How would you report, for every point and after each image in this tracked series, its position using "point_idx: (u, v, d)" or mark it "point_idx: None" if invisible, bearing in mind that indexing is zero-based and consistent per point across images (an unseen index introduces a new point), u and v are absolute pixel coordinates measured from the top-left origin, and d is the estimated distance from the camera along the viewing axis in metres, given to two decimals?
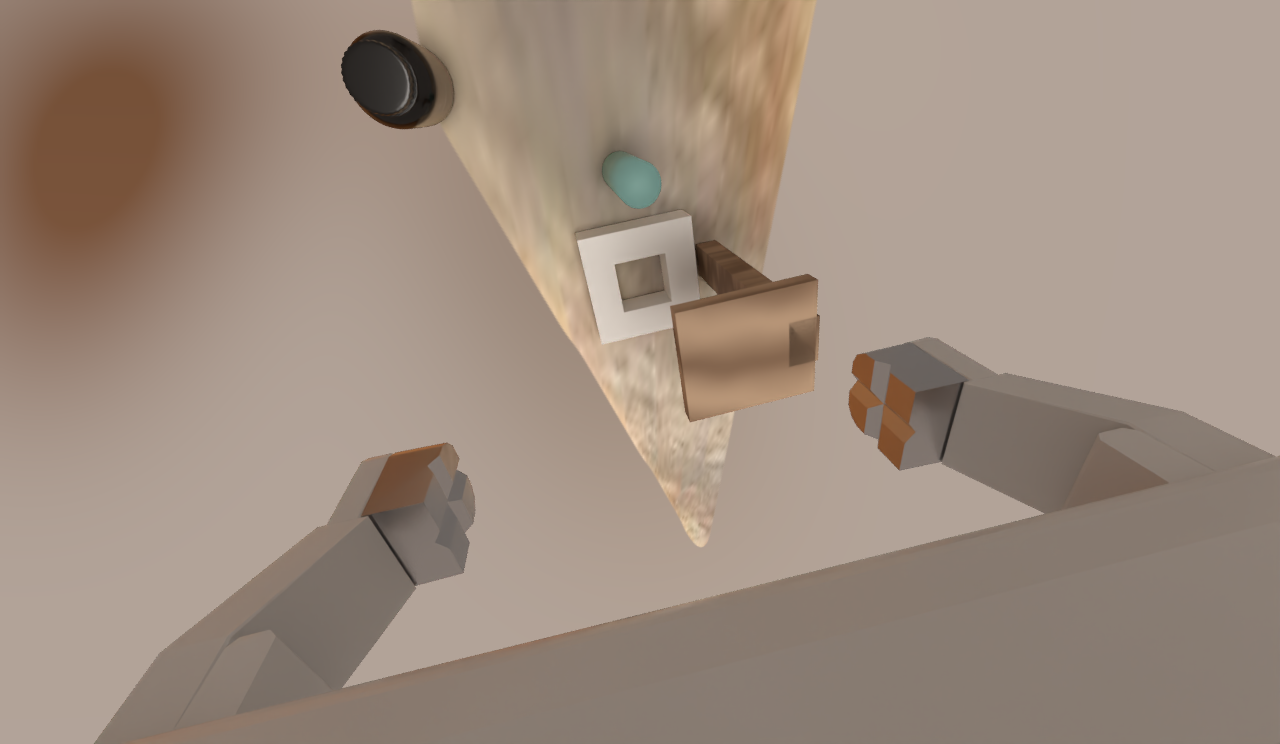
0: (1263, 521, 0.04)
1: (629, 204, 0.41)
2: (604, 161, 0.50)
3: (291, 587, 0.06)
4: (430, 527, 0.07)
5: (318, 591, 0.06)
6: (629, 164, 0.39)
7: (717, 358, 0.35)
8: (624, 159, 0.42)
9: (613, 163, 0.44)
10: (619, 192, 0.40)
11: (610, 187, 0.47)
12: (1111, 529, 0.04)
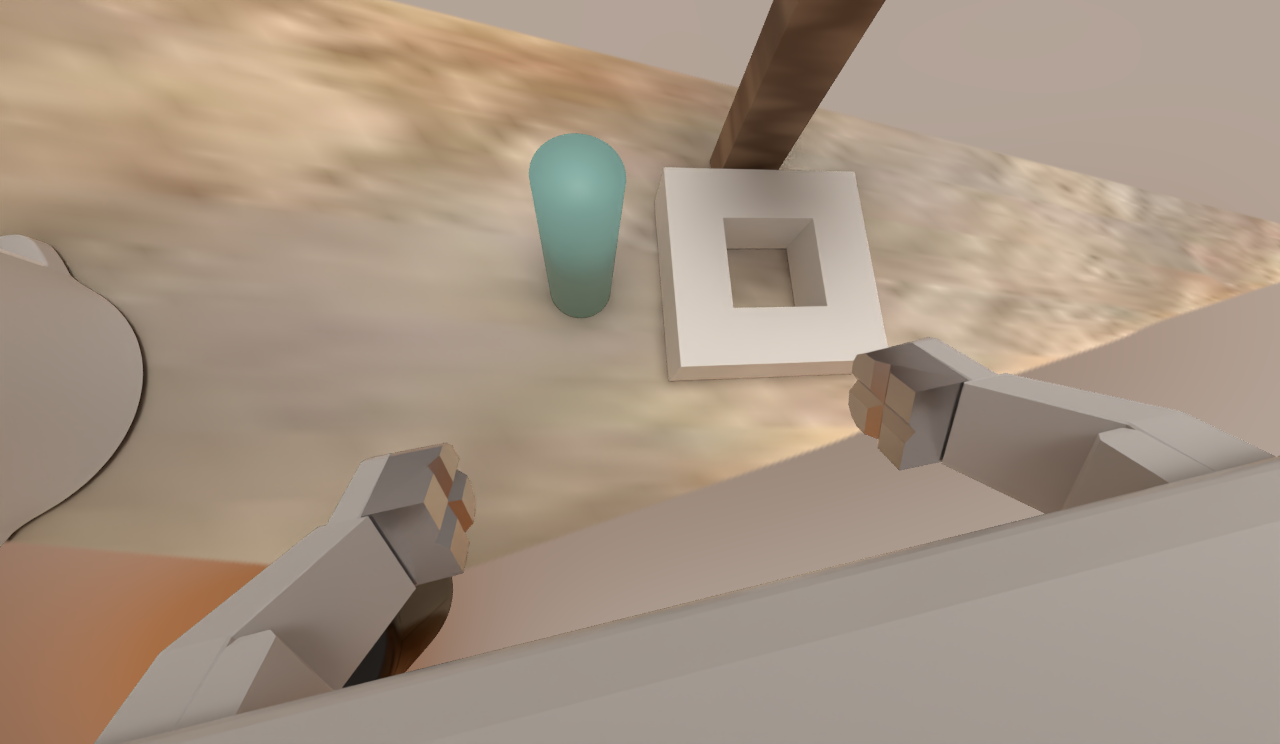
0: (1263, 521, 0.04)
1: (614, 200, 0.19)
2: (561, 310, 0.30)
3: (290, 588, 0.06)
4: (430, 527, 0.07)
5: (318, 591, 0.06)
6: (534, 186, 0.18)
7: None
8: (538, 227, 0.22)
9: (551, 265, 0.24)
10: (586, 215, 0.18)
11: (596, 290, 0.26)
12: (1111, 529, 0.04)
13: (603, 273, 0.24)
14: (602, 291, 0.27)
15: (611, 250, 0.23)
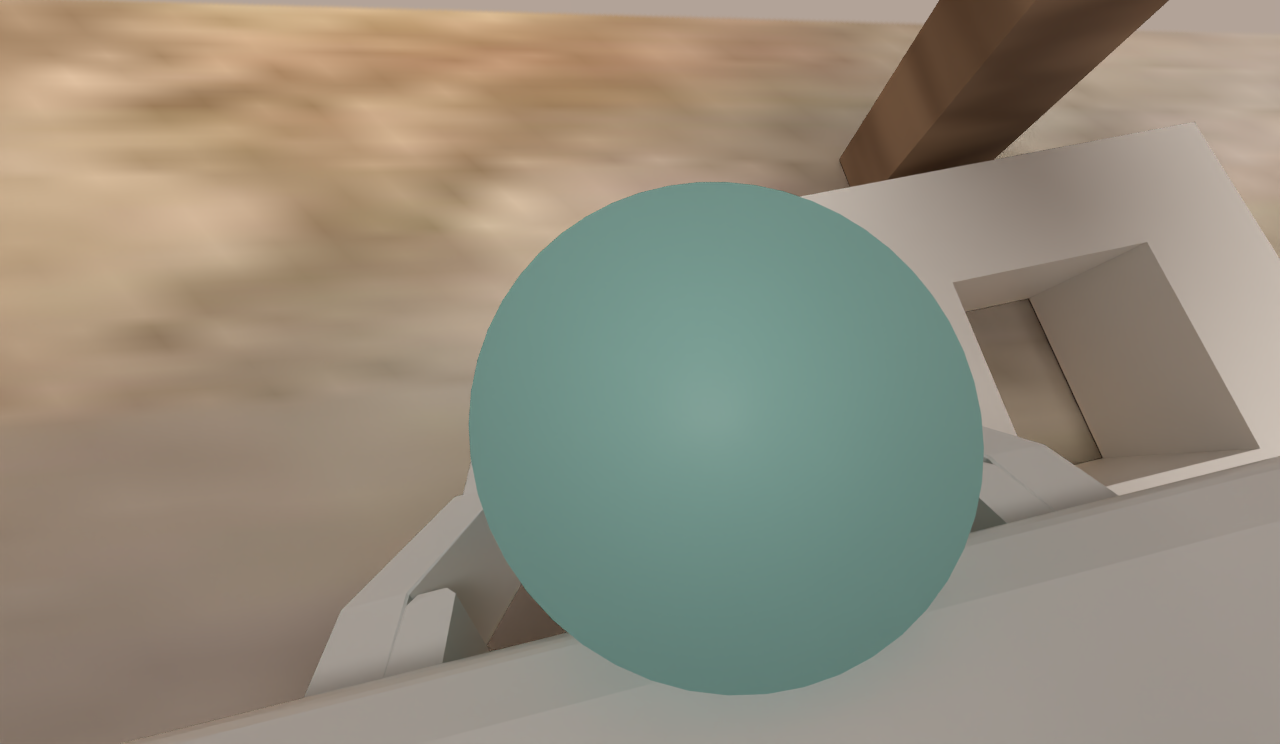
0: (1263, 521, 0.04)
1: (955, 515, 0.03)
2: None
3: (450, 551, 0.06)
4: None
5: (468, 556, 0.06)
6: (507, 532, 0.03)
7: None
8: None
9: None
10: (833, 657, 0.03)
11: None
12: (1111, 529, 0.04)
13: None
14: None
15: None
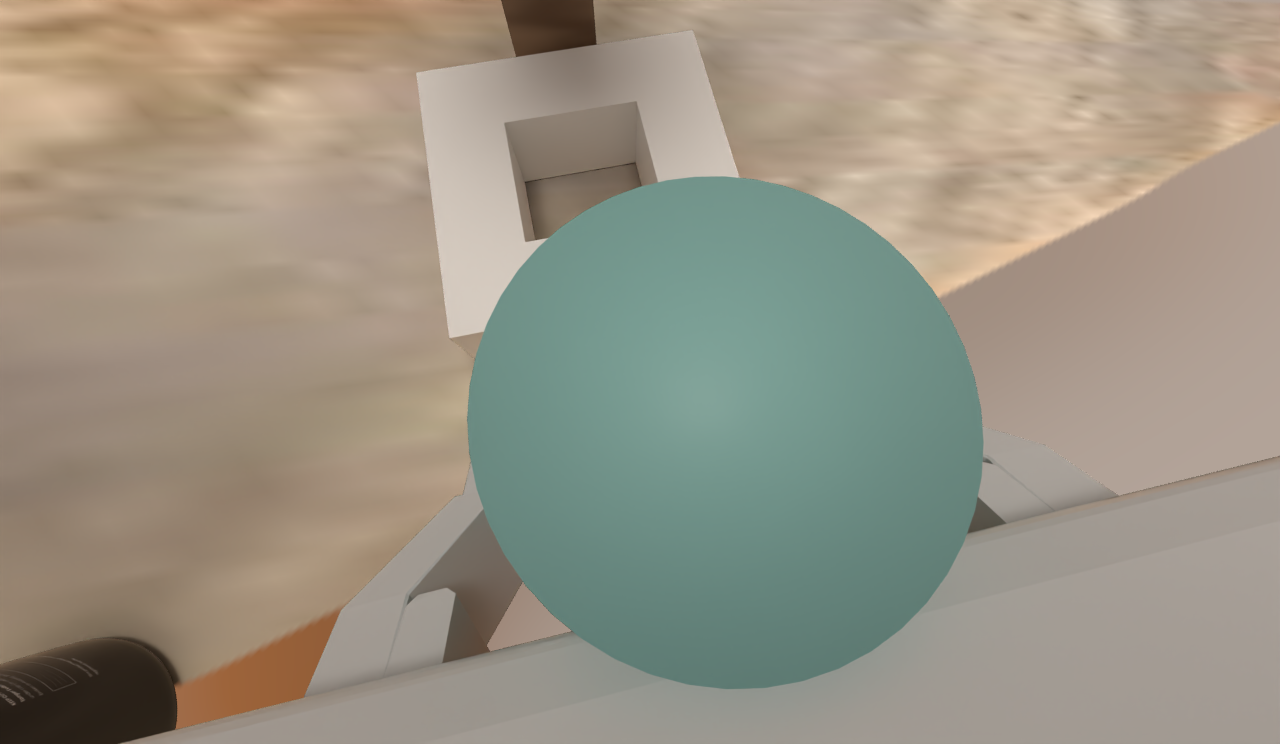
0: (1262, 521, 0.04)
1: (954, 509, 0.03)
2: None
3: (450, 550, 0.06)
4: None
5: (468, 556, 0.06)
6: (506, 526, 0.03)
7: None
8: None
9: None
10: (833, 651, 0.03)
11: None
12: (1111, 529, 0.04)
13: None
14: None
15: None
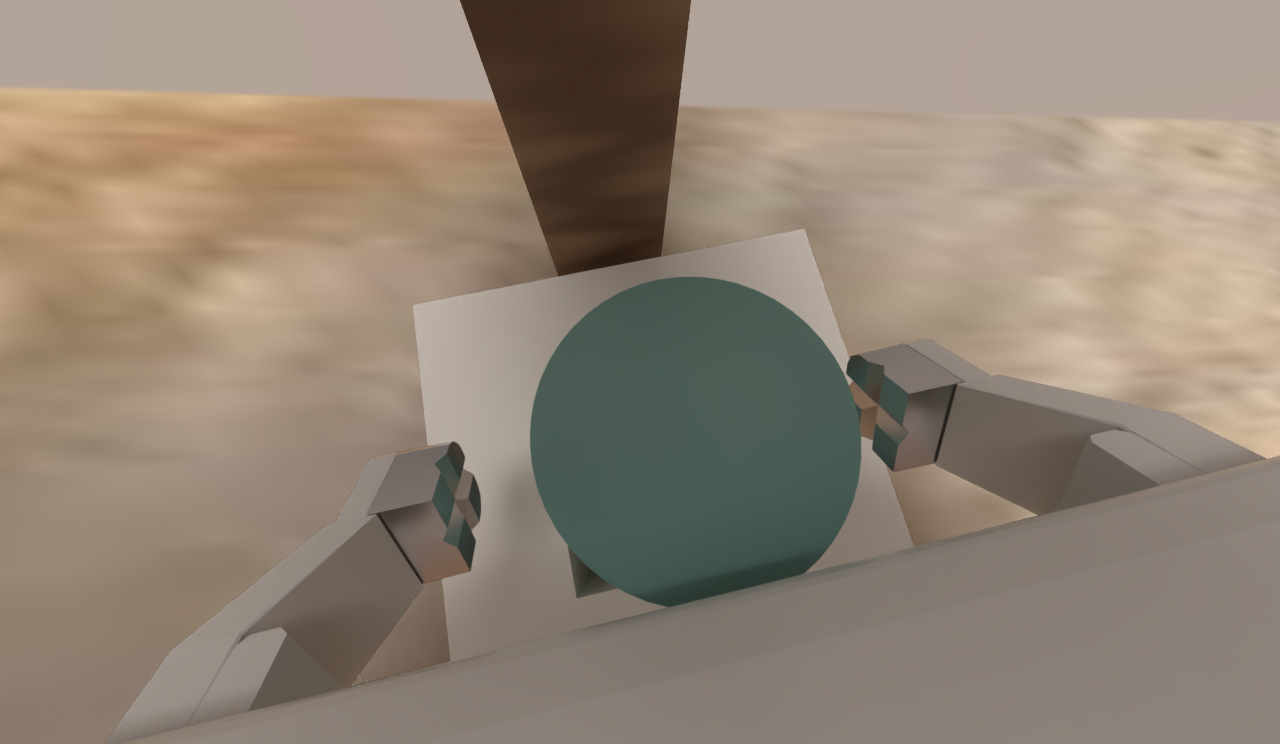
0: (1263, 521, 0.04)
1: (840, 501, 0.05)
2: None
3: (300, 585, 0.06)
4: (438, 525, 0.07)
5: (327, 589, 0.06)
6: (556, 511, 0.05)
7: None
8: None
9: None
10: None
11: None
12: (1111, 529, 0.04)
13: None
14: None
15: None
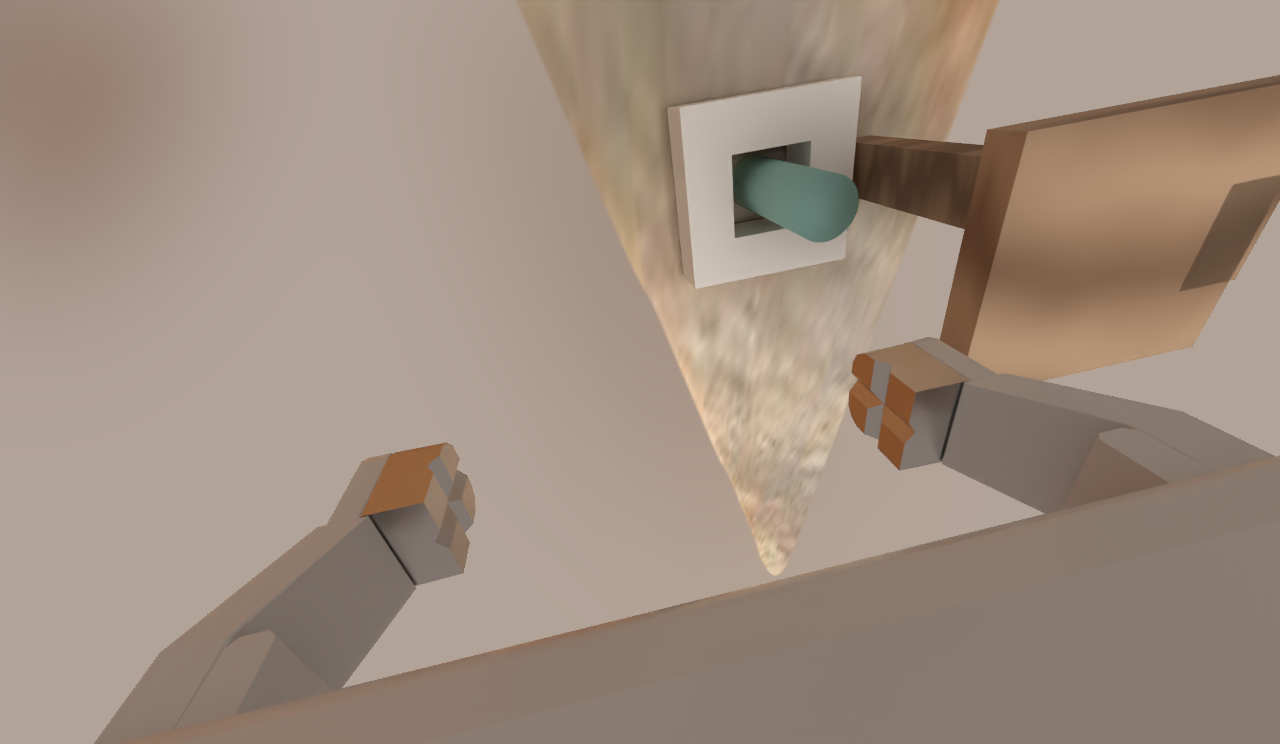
0: (1263, 521, 0.04)
1: (807, 236, 0.28)
2: (734, 168, 0.37)
3: (291, 587, 0.06)
4: (430, 527, 0.07)
5: (318, 591, 0.06)
6: (819, 178, 0.26)
7: (1062, 260, 0.16)
8: (795, 169, 0.29)
9: (768, 174, 0.31)
10: (797, 219, 0.27)
11: (749, 205, 0.34)
12: (1111, 529, 0.04)
13: (762, 214, 0.33)
14: (749, 208, 0.35)
15: None
